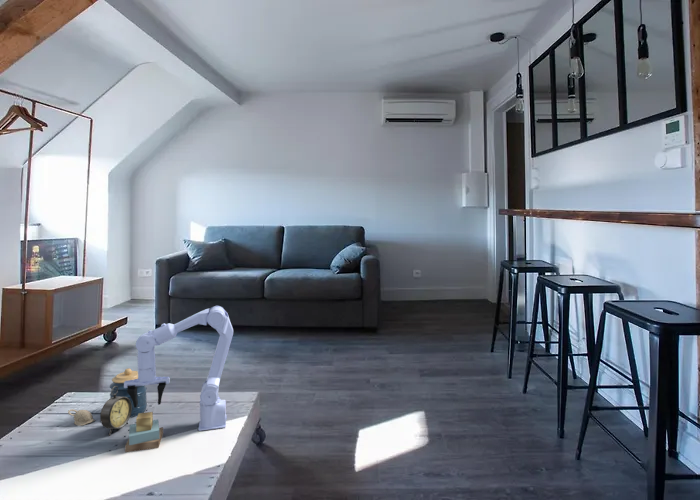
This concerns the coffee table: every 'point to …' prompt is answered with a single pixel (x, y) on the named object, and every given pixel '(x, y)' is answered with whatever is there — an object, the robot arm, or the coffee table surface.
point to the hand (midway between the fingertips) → (147, 404)
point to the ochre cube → (144, 421)
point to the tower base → (144, 444)
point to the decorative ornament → (81, 417)
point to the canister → (122, 392)
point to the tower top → (143, 434)
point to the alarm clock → (116, 412)
